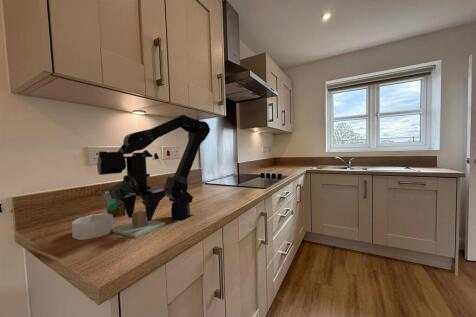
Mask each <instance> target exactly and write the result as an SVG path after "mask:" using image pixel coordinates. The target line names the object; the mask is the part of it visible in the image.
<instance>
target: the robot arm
mask: <svg viewBox="0 0 476 317" xmlns="http://www.w3.org/2000/svg"><path fill="white" fill-rule="evenodd" d="M179 128H181V129H182V130H184V131H185V132H187V139H188V140H187V144H186V146H185V149H184V151H183V154H182V157H181V159H180V162H179V163H178V166H177V168H176V171H175V174H174V175H172V177H171V176H167V178H166V182H165V184H164V185H163V188H157V187H155V188H151V185H148V178H150V177H151V176H150V173H148V171H147V158H153V154H152V153H150V152H149V151H148V150H147V149H146V148H147V147H149V146H150V145H151V144H153V143H154V142H155V141H156V140H157V139H159V138H161V137H163V136H165V135H167V134H169V133H171V132H174V131H175V130H177V129H179ZM210 131H211V128H210V125H209V123H207V122H206V121H205V120H204V121H201V120H199V119H196V118H192V117H190V116H187V115H184V114H181V115H177V116H175V117H174V118H172V119H170V120H168V121H165V122H164V123H161V124H159V125H156V126H154V127H152V128H149V129H145V130H144V129H143V130H140V131H136V132H132V133H129V134H127V135H125V136H124V138H123V140H122V143H123V144H122V145H121V147H119V149H118V150H117V151H98V155H97V163H96V168H97V173H98V175H99V176H105V175H113V174H114V175H115V174H121V173H123V171H124V170H126V175H123V177H122V178H123V180H122V181H121V182H118V183H116V184H115V185H112V186H111V187H109V188H107V191H109V194H110V196H111V198H112V199H116V200H118V201H120V202H121V203H122V204H123V206H124V208H125V214H126V215H127V217H128V219H132V213H135V205H136V199H137V197H140V198H141V199H142V201H140V203H142V204H143V205H144V206H145V207H144V209H145V212H146V219H147V221H151V220H153V216H154V214H155V212H156V211H157V210H156V209H157V207H158V206H159V204H160V201H163V199H164V198H166V197H167V198H168V200H169V202H171V209H170V211H171V212H170V213H171V217H169V218H168V219H169V220H175V221H181V222H182V221H186V219H190V218H191V217H193V216H194V215H193V214H191V209H190V208H191V207H190V205H191V204H190V203H192V202H193V200H194V196H192V194H191V193H189V192H188V188H189V182H188V180H189V179H188V178H189V175H190V172H191V169H192V166H193V164H194V162H195V159H196V156H197V153H198V151H199V149H200V146H201V145H202V143H203V142H204V141H205V140H206V139H207V137H208V136H209V134H210ZM142 150H143V151H142ZM139 151H142V152H139ZM130 154H132V155H130ZM124 155H128V156H124ZM129 155H130V156H129Z"/></svg>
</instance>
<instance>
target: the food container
mask: <svg viewBox="0 0 476 317" xmlns="http://www.w3.org/2000/svg"><path fill="white" fill-rule="evenodd" d="M103 199H104V200H105V206H106V213H107V214H113V219H114V218H119V217H124V216H126V210H125V208H124V206H123V204H122V203H121V202H120V201H118V200H116V199H112V198H111V196H110V194H109V191H108V190H107V191H105V192H104V194H103Z"/></svg>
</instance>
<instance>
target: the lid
mask: <svg viewBox="0 0 476 317" xmlns="http://www.w3.org/2000/svg"><path fill="white" fill-rule="evenodd" d="M165 224H166V222H165V221H159V220H153V219H151V221H147V216H146V210H145V211H144V210H143V211H142V210H138V211H134V212H133V213H132V217H131V222H130V223H126V224H124V225H122V226H121V225H120V226H118V227H116V228H113V229H112V232H114V233H119V234H123V235H127V236H131V237H135V238H136V237H138V236H140V235H143V234H145V233H147V232H149V233H151V232H150V231H152V230H154V229H156V228H158V229H160V228H159V227H161V226H163V225H165ZM165 226H166V225H165ZM163 227H164V226H163ZM161 228H162V227H161ZM156 230H157V229H156ZM154 231H155V230H154ZM152 232H153V231H152ZM114 233H113V234H114ZM147 234H148V233H147ZM145 235H146V234H145ZM143 236H144V235H143ZM140 237H141V236H140ZM138 238H139V237H138ZM136 239H137V238H136Z"/></svg>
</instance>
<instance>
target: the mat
mask: <svg viewBox="0 0 476 317" xmlns="http://www.w3.org/2000/svg"><path fill="white" fill-rule="evenodd" d="M167 225H168V224H167V223H165V225H163V226H161V227H159V228H156V229H154V230H152V231H150V232H147V233H145V234H143V235H140V236H138V237H136V238H135V237H131V236H127V235H123V234H119V233H114V232H113V231H111V232H110V233H111V234H114V235H118V236H122V237H127V238H131V239H138V238H139V237H142V236H144V235H146V234H150V233H152V232H153V231H156V230H158V229H160V228H162V227H165V226H167Z"/></svg>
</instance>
